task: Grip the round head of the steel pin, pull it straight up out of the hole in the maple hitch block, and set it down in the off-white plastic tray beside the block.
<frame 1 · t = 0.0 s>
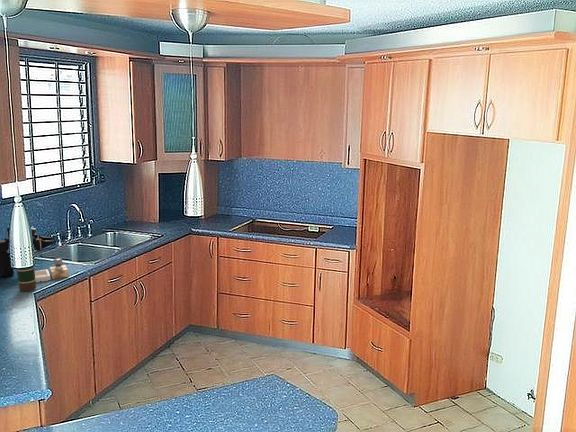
hand: (53, 240, 320), 17 cm above the counter, tool horizontal, fingers open, 9 cm apart
steel pin: (58, 267, 309), in the hitch block
hitch block: (59, 275, 310), on the counter
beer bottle: (28, 290, 287), on the counter
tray: (38, 278, 305), on the counter
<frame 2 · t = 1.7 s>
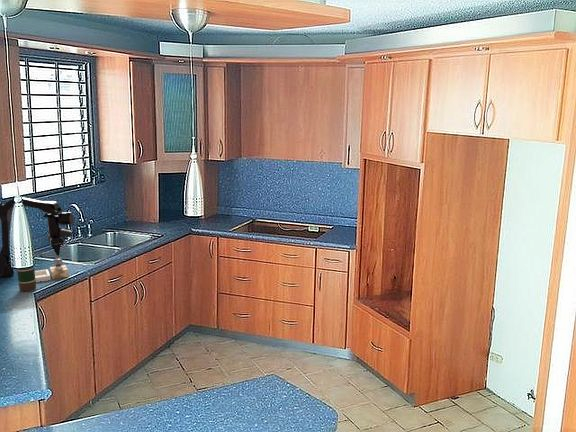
hand: (57, 253, 308), 12 cm above the counter, tool pointing down, fingers open, 9 cm apart
nothing on the counter moved.
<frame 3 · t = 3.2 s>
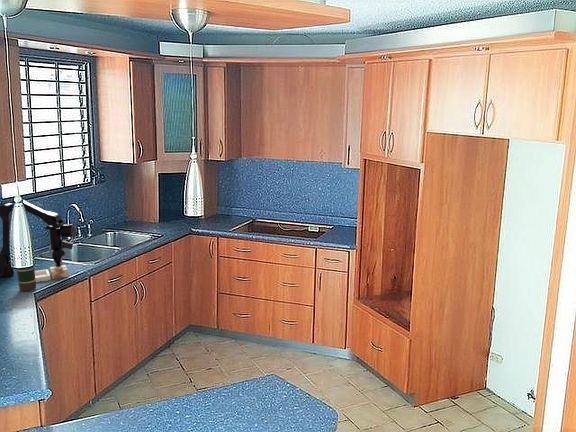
hand: (58, 265, 309), 6 cm above the counter, tool pointing down, fingers closed on steel pin, 4 cm apart
steel pin: (58, 267, 309), in the hitch block, touching gripper
everything else where it was.
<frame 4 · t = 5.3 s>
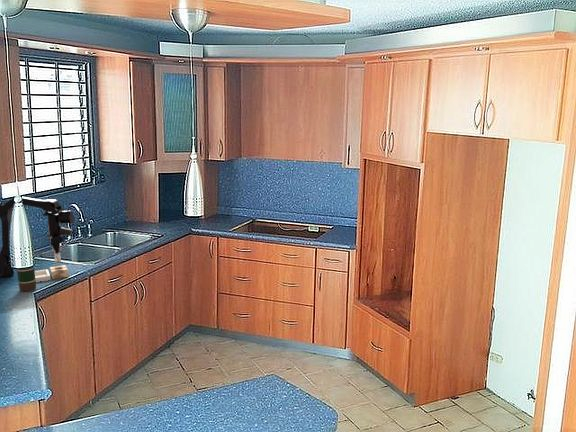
hand: (57, 252, 308), 13 cm above the counter, tool pointing down, fingers closed on steel pin, 4 cm apart
steel pin: (57, 254, 308), point 12 cm above the counter, touching gripper
everything else where it was.
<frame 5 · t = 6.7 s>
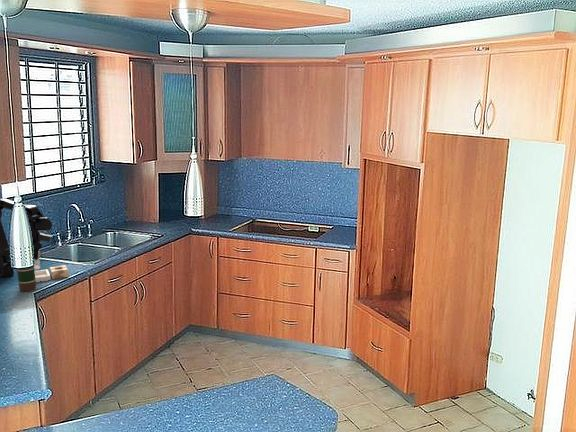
hand: (36, 258, 303), 11 cm above the counter, tool pointing down, fingers closed on steel pin, 4 cm apart
steel pin: (36, 260, 304), point 10 cm above the counter, touching gripper
everything else where it was.
when the fingers open (7 cm above the counter, at t = 7.6 s): steel pin drops 1 cm, resting on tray.
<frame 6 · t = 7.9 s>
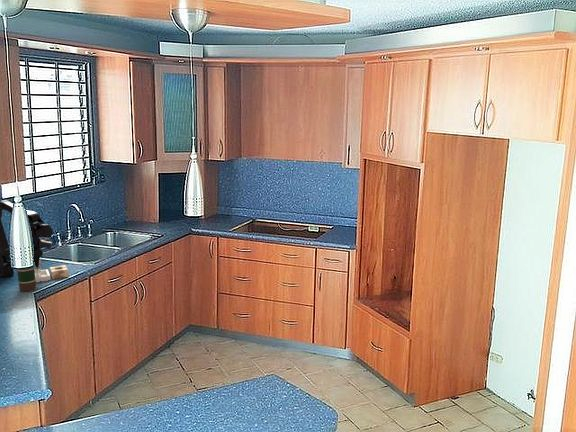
hand: (36, 265, 304), 7 cm above the counter, tool pointing down, fingers open, 7 cm apart
steel pin: (37, 269, 305), in the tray
everything else where it was.
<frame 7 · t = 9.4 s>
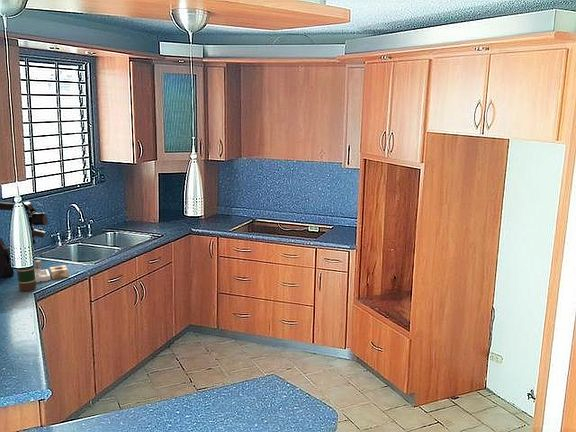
hand: (29, 253, 309), 12 cm above the counter, tool pointing down, fingers open, 9 cm apart
nothing on the counter moved.
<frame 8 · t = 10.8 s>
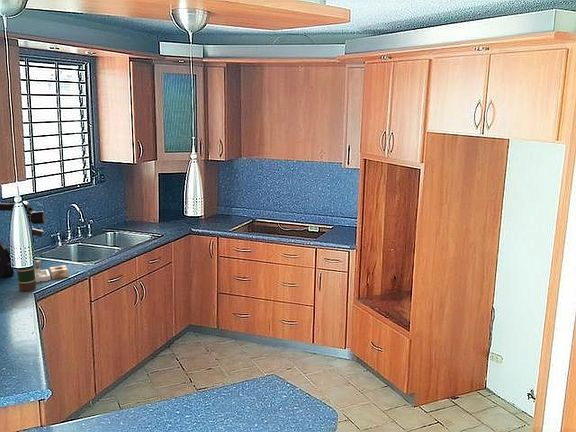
hand: (28, 253, 312), 12 cm above the counter, tool pointing down, fingers open, 9 cm apart
nothing on the counter moved.
at the end: steel pin inside the target area on the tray (0.2 cm from its centre), point 5.0 cm above the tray's base; the gripper is holding nothing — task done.
